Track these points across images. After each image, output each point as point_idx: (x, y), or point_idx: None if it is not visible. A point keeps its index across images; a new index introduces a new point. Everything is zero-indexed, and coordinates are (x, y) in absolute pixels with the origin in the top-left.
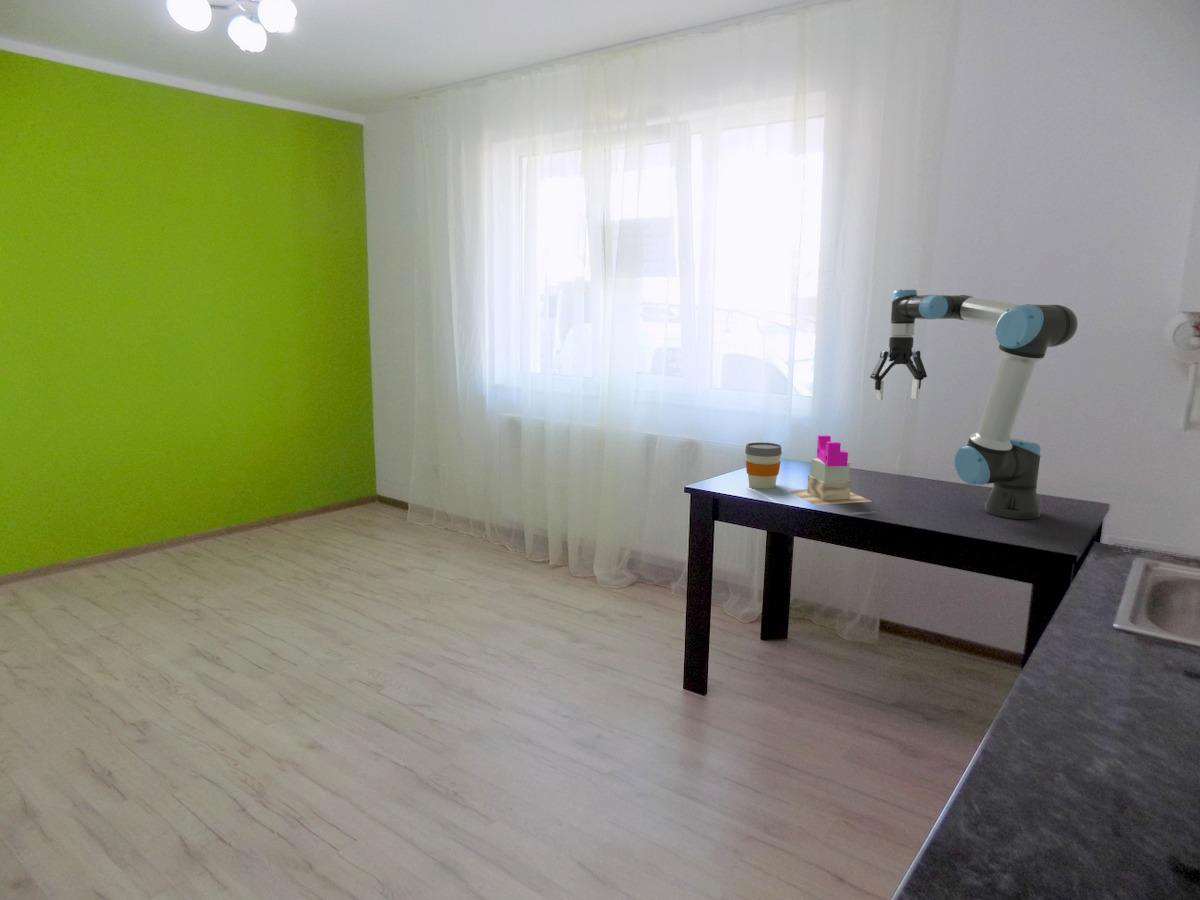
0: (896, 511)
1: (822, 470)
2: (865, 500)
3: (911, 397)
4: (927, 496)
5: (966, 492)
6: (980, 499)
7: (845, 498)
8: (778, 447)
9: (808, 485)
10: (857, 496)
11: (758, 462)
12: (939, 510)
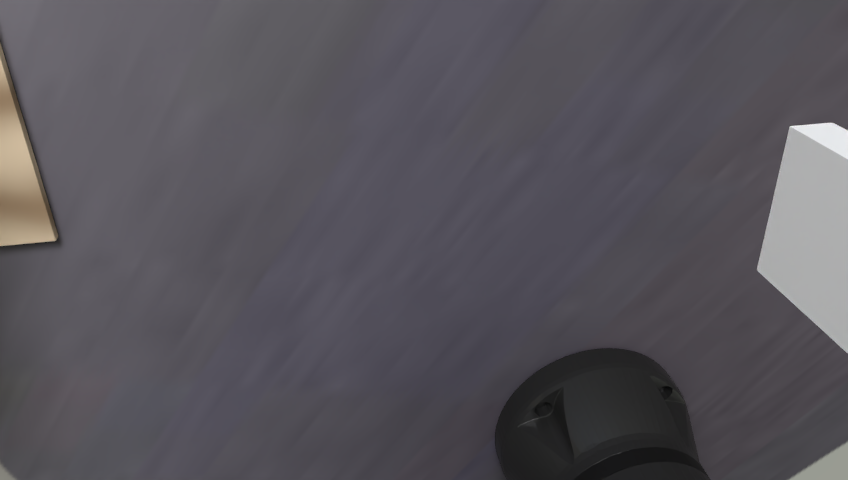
0: (125, 372)
1: None
2: (21, 222)
3: (795, 144)
4: (437, 151)
5: (692, 105)
6: (642, 236)
7: None
8: None
9: None
10: (2, 134)
11: None
12: (332, 373)
